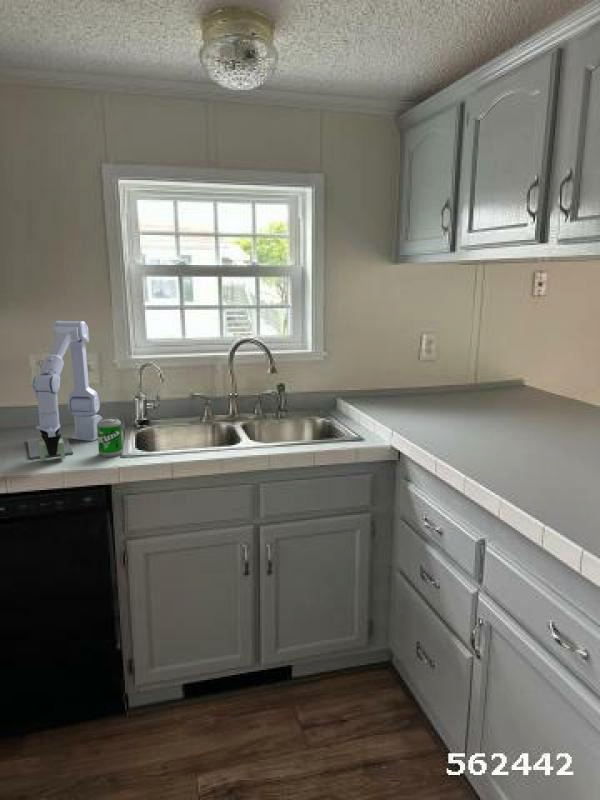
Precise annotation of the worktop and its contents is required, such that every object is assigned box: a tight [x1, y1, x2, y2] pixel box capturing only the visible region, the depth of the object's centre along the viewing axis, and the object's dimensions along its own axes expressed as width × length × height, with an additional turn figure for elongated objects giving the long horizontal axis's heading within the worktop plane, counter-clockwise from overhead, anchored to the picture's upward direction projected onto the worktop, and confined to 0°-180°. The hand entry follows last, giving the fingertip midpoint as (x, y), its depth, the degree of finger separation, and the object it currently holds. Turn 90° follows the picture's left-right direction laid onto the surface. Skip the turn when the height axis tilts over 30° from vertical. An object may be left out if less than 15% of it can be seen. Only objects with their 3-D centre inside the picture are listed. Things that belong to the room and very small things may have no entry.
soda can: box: [97, 417, 123, 458], centre depth 182 cm, size 8×8×12 cm
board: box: [26, 435, 74, 460], centre depth 189 cm, size 13×22×2 cm, turn 28°
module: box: [39, 439, 66, 462], centre depth 176 cm, size 7×5×6 cm
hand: (52, 452), depth 176 cm, fingers closed on module, 5 cm apart
